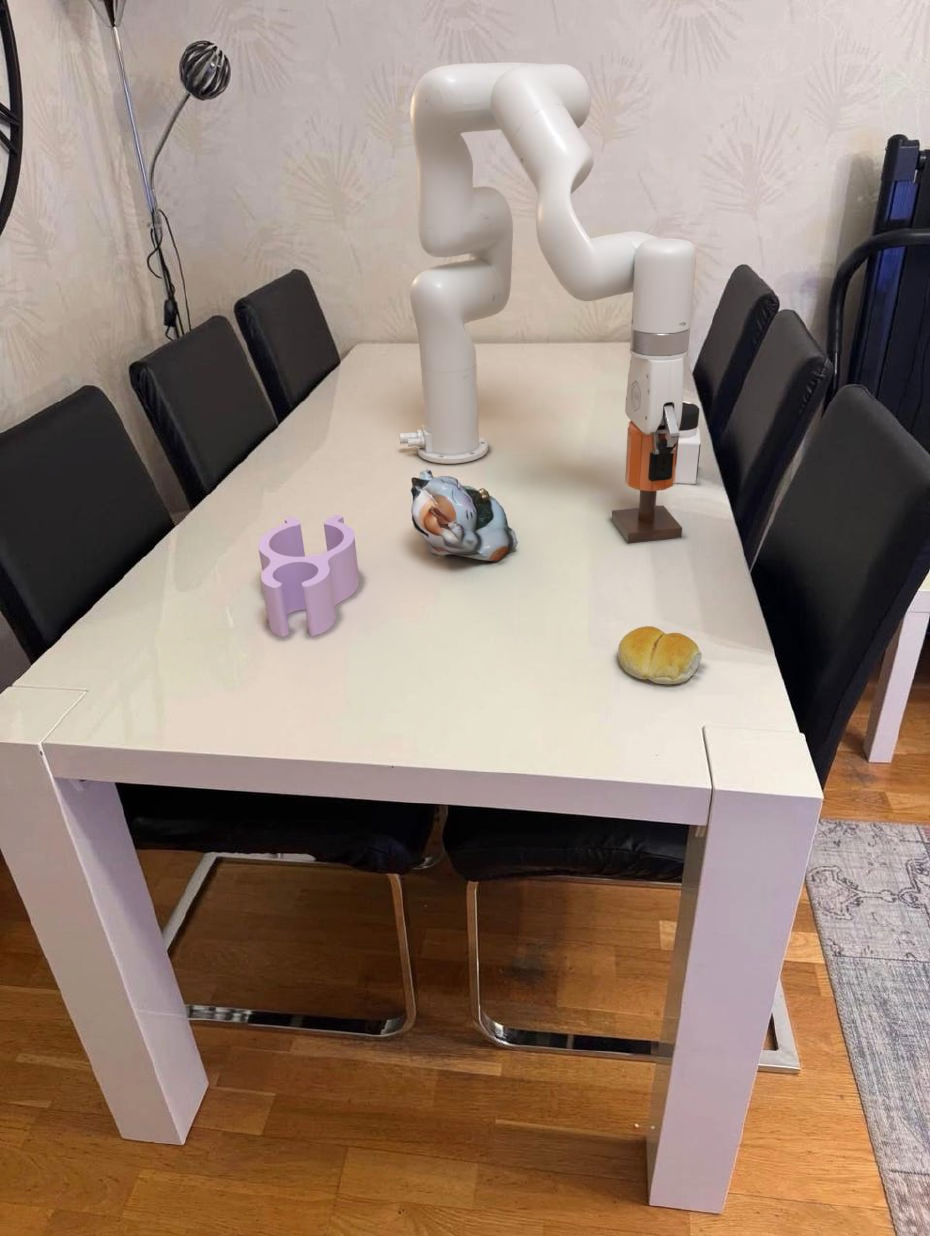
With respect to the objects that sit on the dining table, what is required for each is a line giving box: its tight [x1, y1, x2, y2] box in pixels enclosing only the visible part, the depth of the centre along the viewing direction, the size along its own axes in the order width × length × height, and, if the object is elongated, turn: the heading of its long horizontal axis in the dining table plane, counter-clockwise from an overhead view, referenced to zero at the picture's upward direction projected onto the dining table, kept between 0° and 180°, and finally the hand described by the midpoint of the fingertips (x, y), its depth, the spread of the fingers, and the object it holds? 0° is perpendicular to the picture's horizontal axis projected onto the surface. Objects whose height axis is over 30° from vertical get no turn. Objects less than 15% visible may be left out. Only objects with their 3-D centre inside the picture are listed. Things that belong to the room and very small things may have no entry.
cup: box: [624, 420, 679, 492], centre depth 125 cm, size 7×7×8 cm
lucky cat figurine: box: [410, 469, 519, 563], centre depth 124 cm, size 15×12×14 cm
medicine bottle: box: [674, 400, 702, 485], centre depth 145 cm, size 7×7×12 cm
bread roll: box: [617, 625, 703, 685], centre depth 101 cm, size 8×9×4 cm
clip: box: [257, 514, 360, 638], centre depth 117 cm, size 20×12×7 cm, turn 0°
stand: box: [610, 490, 683, 544], centre depth 128 cm, size 8×8×13 cm
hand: (650, 468), depth 127 cm, fingers closed on cup, 6 cm apart
